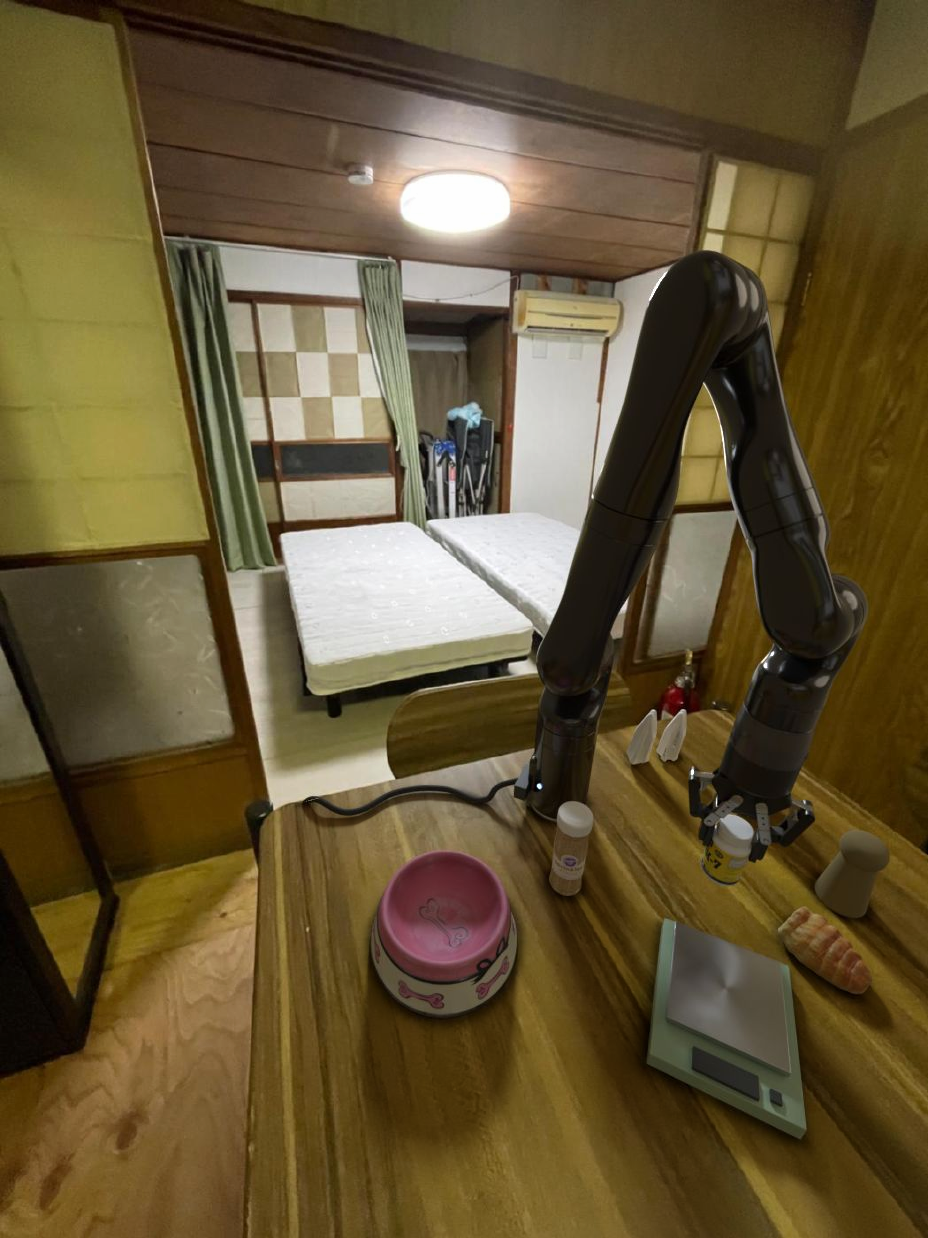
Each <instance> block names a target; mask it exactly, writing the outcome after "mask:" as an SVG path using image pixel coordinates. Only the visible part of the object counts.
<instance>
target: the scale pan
mask: <svg viewBox="0 0 928 1238" xmlns="http://www.w3.org/2000/svg"><path fill="white" fill-rule="evenodd" d="M674 922H675V925H674V934H673V945H672V956H671V967H670V978H669V989H668V1000H667V1011H666V1021H668V1022H670V1023H672V1024H674V1025H676V1026H678V1027H681V1028H683V1029H685V1030H687V1031H689V1032H691V1033H694V1034H696V1035H698V1036H700V1037H702V1038H704V1039H707V1040H709V1041H711V1042H713V1043H715V1044H718V1045H720V1046H722V1047H724V1048H726V1049H728V1050H731V1051H733V1052H735V1053H737V1054H739V1055H741V1056H744V1057H746V1058H748V1059H750V1060H752V1061H755V1062H757V1063H759V1064H761V1065H763V1066H765V1067H768V1068H770V1069H772V1070H774V1071H776V1072H778V1073H781V1074H783V1075H785V1076H787V1077H789V1076H790V1074H791V1067H790V1057H789V1046H788V1036H787V1025H786V1015H785V1004H784V994H783V983H782V972H781V961H778V960H776V959H773V958H772V957H768V956H766V955H764V954H760V953H758V952H756V951H753V950H750V949H748V948H745V947H742V946H740V945H738V944H735V943H732V942H730V941H727V940H725V939H722V938H719V937H718V936H714V935H712V934H709V933H707V932H704V931H702V930H699V929H697V928H694V927H691V926H689V925H686V924H683V923H682V922H681V923H680V922H679V921H674Z"/></svg>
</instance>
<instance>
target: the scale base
mask: <svg viewBox="0 0 928 1238" xmlns="http://www.w3.org/2000/svg"><path fill="white" fill-rule="evenodd" d="M675 922H676V921H674V920H671V919H670V918H669V919H668V918H666V917H664V918H663V921H662V925H661V930H660V936H659V937H660V939H659V946H658V947H659V948H658V956H657V964H656V965H657V966H656V974H655V981H654V992H653V999H652V1000H653V1001H652V1008H651V1009H652V1010H651V1018H650V1027H649V1036H648V1045H647V1052H646V1064H647V1065H649V1066H651V1067H652V1068H655V1069H657V1070H658V1071H661V1072H663V1073H665V1074H667V1075H669V1076H670V1077H672V1078H674V1079H676V1080H678V1081H681V1082H683V1083H684V1084H687V1085H688V1086H691V1087H693V1088H695V1089H697V1090H699V1091H701V1092H703V1093H705V1094H707V1095H710V1096H711V1097H713V1098H715V1099H717V1100H720V1101H721V1102H723V1103H725V1104H727V1105H729V1106H731V1107H733V1108H735V1109H738V1110H740V1111H742V1112H744V1113H745V1114H746V1115H747V1114H748V1115H749V1116H752V1117H753V1118H756V1119H758V1120H760V1121H761V1122H764V1123H766V1124H768V1125H770V1126H771V1127H774V1128H776V1129H778V1130H780V1131H781V1132H784V1133H786V1134H787V1135H790V1136H792V1137H794V1138H796V1139H798V1140H801V1139H802V1138H803V1137H804V1135H805V1134H806V1132H807V1130H808V1129H807V1120H806V1111H805V1110H806V1109H805V1101H804V1093H803V1092H804V1091H803V1083H802V1074H801V1073H802V1072H801V1065H800V1056H799V1046H798V1045H799V1044H798V1035H797V1027H796V1019H795V1008H794V1000H793V991H792V990H793V989H792V982H791V973H790V971H791V970H790V966H789V965H786V964H784V963H781V972H782V983H783V994H784V1004H785V1015H786V1025H787V1036H788V1046H789V1057H790V1067H791V1074H790V1076H789V1077H787V1076H785V1075H783V1074H781V1073H778V1072H776V1071H774V1070H772V1069H770V1068H768V1067H765V1066H763V1065H761V1064H759V1063H757V1062H755V1061H752V1060H750V1059H748V1058H746V1057H744V1056H741V1055H739V1054H737V1053H735V1052H733V1051H731V1050H728V1049H726V1048H724V1047H722V1046H720V1045H718V1044H715V1043H713V1042H711V1041H709V1040H707V1039H704V1038H702V1037H700V1036H698V1035H696V1034H694V1033H691V1032H689V1031H687V1030H685V1029H683V1028H681V1027H678V1026H676V1025H674V1024H672V1023H670V1022H668V1021H666V1011H667V1000H668V989H669V978H670V967H671V956H672V945H673V934H674V925H675Z"/></svg>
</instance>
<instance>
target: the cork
mask: <svg viewBox="0 0 928 1238" xmlns="http://www.w3.org/2000/svg"><path fill="white" fill-rule="evenodd" d="M838 845H839V847H838V848H839V852H838V853H837V854H836V856H835V857H834V858H833V859H832V861H831V862H830V863H829V864H828V865H827V867H826V868H825V870H824V871H822V873H821V875H819V877H818V878H817V879H816V880H815V882H814V887H813V888H814V892H815V894H816V895H817V897H818V899H819V900H820V901H821V902H822V904H824V905H825V906H826V907H827V908H829V909H830V910H831V911H833V912H835V913H837V914H838V915H841V916H843V917H846V918H850V919H860V918H862V917H864V916H865V914H867V911H868V907H869V904H870V900H871V897H872V893H873V889H874V886H875V883H876V879H877V875H878V872H881V871H882V870H885V868H886V867H887V866H888V865H889V863H890V860H891V859H890V857H891V853H890V850H889V848H888V846H887V845H886V844H885V842H884V841H883V840H882V839H880V838H879V837H877V836H876V835H875V834H873V833H870V832H868V831H866V830H861V829H852V830H847V831H846V832H845V833H843V834H842V835H841V838H840V839H839V844H838Z"/></svg>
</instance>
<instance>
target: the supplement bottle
mask: <svg viewBox="0 0 928 1238" xmlns="http://www.w3.org/2000/svg"><path fill="white" fill-rule="evenodd" d="M754 833H755V831H754V829H753V826H752V825H751V824H750V823H749V822H748V821H747V820H745V819H744V818H742V817H741V816H738V815H735V814H731V813H729V814H728V815H727V816H726V817H725V818H723V819H722V818H721V819H720V820H718V821H717V822H716V824H715V829H714V832H713V835H712V838H711V841H710V844H709V846H708V847H707V846H705V848H704V851H703V854H702V856H701V860H700V869H701V870H702V872H703V874H704V875H705V876H706V877H707V878H708V880H710V881H711V882H713V883H714V884H716V885H717V886H718V885H719V886H721V887H726V888H727V887H734V886H735V885H737V884H738V883H739V882H740V879H741V877H742V874H743V872H744V870H745V868H746V865H747V862H748V858H749V855H750V853H751V850H752V844H751V842H752V839H753V836H754Z"/></svg>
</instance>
